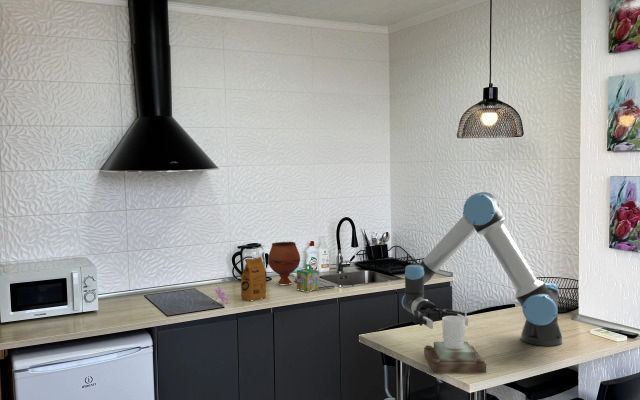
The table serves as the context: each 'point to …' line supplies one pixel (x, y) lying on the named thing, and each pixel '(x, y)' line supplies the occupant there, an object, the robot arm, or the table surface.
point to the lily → (221, 295)
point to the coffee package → (253, 280)
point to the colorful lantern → (307, 279)
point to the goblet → (284, 259)
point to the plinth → (454, 364)
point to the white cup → (453, 332)
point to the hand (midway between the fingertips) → (449, 323)
